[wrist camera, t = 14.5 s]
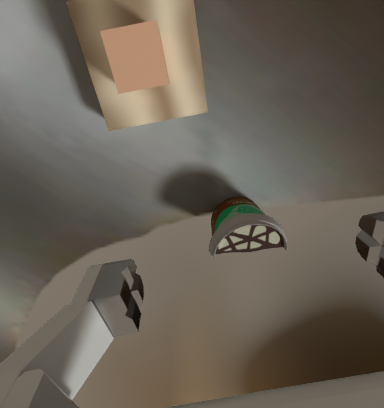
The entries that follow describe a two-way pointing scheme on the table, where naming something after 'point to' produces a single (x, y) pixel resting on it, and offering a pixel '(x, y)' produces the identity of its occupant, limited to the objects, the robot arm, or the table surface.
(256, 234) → the food container
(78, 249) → the table surface
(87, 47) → the birch plinth
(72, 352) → the robot arm
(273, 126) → the table surface
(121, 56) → the terracotta block
